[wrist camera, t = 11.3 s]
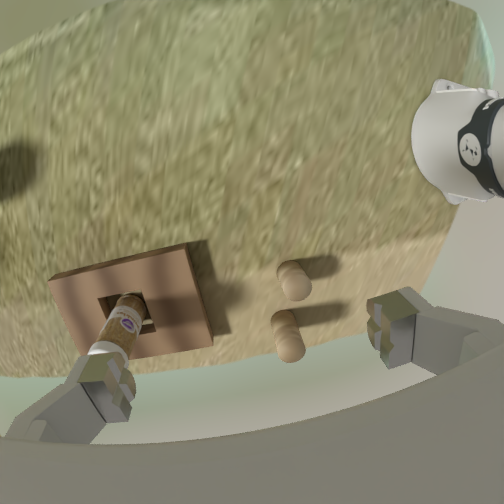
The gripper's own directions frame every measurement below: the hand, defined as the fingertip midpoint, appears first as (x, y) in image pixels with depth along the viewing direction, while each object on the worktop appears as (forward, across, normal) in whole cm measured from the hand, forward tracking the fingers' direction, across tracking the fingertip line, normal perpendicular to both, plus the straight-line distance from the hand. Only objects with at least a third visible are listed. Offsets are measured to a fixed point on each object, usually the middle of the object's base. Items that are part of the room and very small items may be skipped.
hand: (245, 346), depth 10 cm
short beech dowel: (+31, -6, +12) cm, 33 cm away
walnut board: (+30, +16, +12) cm, 36 cm away
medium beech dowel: (+30, -4, +19) cm, 36 cm away
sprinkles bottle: (+30, +16, +12) cm, 37 cm away
